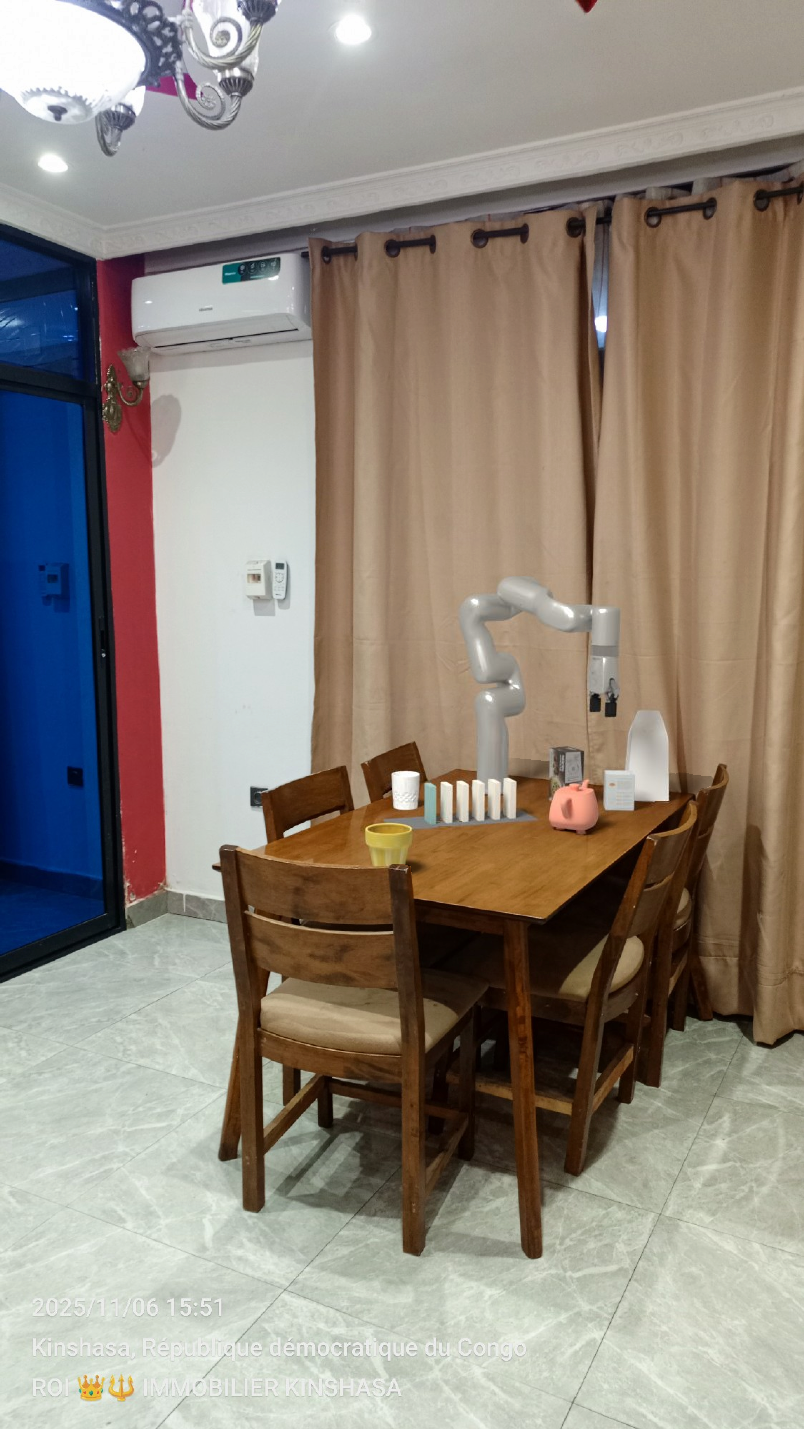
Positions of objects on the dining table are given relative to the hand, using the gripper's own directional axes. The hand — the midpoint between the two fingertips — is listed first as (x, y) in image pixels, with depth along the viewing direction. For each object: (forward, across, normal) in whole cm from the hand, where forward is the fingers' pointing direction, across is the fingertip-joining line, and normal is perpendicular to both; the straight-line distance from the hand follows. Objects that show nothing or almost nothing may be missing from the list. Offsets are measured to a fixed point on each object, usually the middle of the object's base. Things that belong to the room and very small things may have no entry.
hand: (602, 714), depth 263 cm
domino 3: (+27, +1, -40) cm, 48 cm away
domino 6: (+27, 0, -26) cm, 38 cm away
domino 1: (+27, +2, -49) cm, 56 cm away
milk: (+28, -15, +22) cm, 38 cm away
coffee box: (+28, -12, -5) cm, 31 cm away
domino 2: (+27, +1, -44) cm, 52 cm away
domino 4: (+27, +1, -36) cm, 45 cm away
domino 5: (+27, +1, -31) cm, 41 cm away
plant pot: (+28, +40, -69) cm, 84 cm away
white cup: (+28, -16, -51) cm, 61 cm away
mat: (+28, +1, -40) cm, 49 cm away
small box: (+28, -3, +7) cm, 29 cm away
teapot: (+28, +15, -14) cm, 34 cm away
